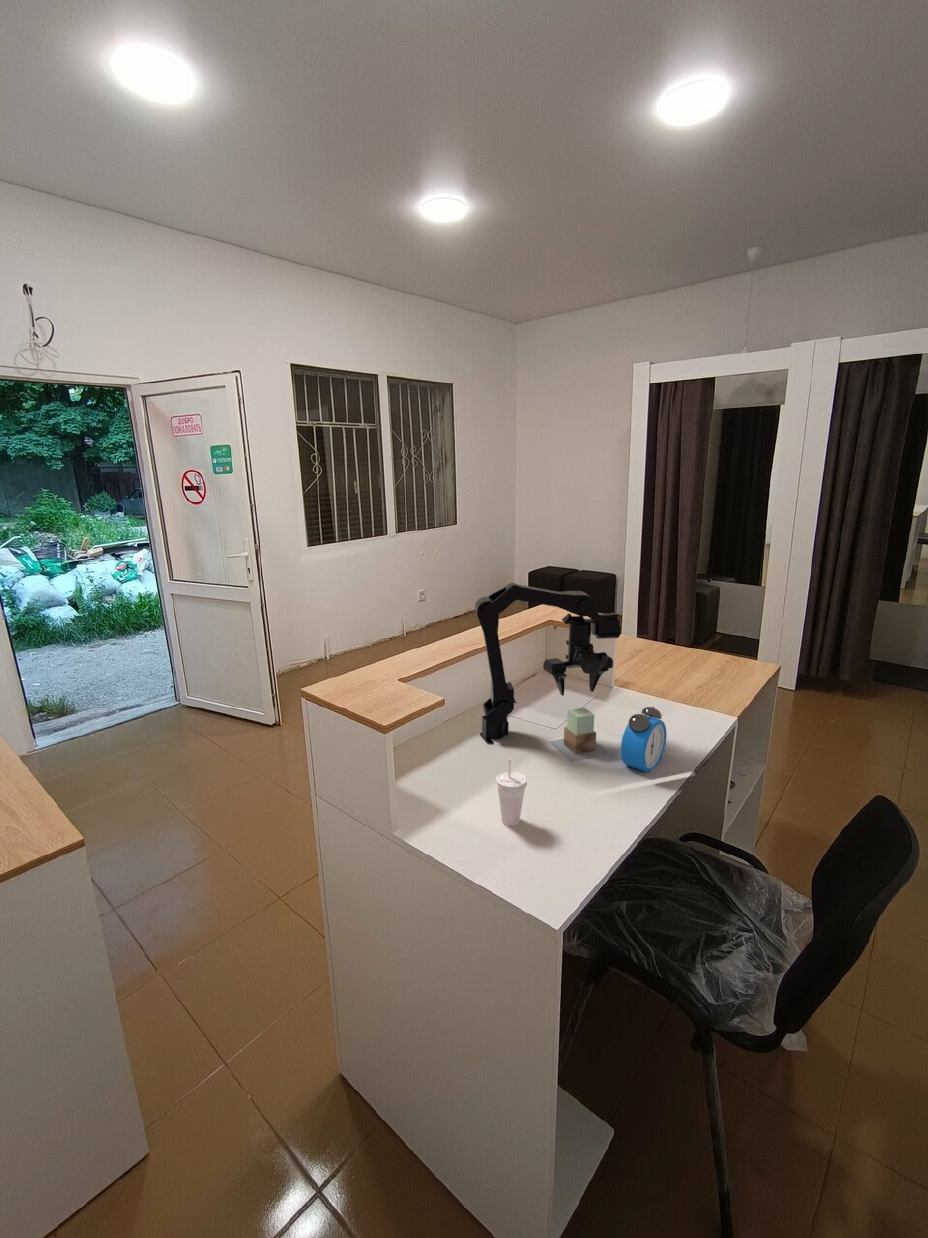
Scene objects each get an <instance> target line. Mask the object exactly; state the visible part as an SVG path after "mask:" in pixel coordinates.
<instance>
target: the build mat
mask: <svg viewBox="0 0 928 1238" xmlns="http://www.w3.org/2000/svg"><path fill="white" fill-rule="evenodd" d="M548 743H550V745H552V746H553V748H555V749H556V750H557V751H558V752H559V753H560V754H561V755H563V756H564V757H565V758H566V759H567V760H568V761H570V762H576V761H581V760H582V761H583V760H586V759H587V760H589V759H593V758H598V757H604V756H610V755H612V752H610V751H609V750H608V749H606V748H605V747H604V746H602V745H601V744H599V743H598V742H597V741H596V749H595V751H591V752H585V753H580V754H574V753H573V752H572V751H571V750H569V749H568V748H567V747H566V746H565V745H564V738H560V739H555V740H549V741H548Z"/></svg>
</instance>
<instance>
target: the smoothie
mask: <svg viewBox="0 0 928 1238" xmlns="http://www.w3.org/2000/svg"><path fill="white" fill-rule="evenodd" d="M507 763H508V764H507V771H505V772H501V773H499V774H498V775H496V777H495V784H496V786H497V794H498V801H499V808H500V816H501V823H502V824H503V825H504V826H508V827H515V826H517V825H518V824H519V823H520V820H521V816H522V815H521V813H522V808H523V803H524V795H525V789H526V788H527V785H528V782H527V779H528V778H526V776H525V775H524V774H522V773H520V772H517V771H511V770H512V769H511V766H512V758H511V757H508V758H507Z"/></svg>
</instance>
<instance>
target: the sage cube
mask: <svg viewBox="0 0 928 1238" xmlns="http://www.w3.org/2000/svg"><path fill="white" fill-rule="evenodd" d="M566 715H567V716H566V717H567V718H566V727H567V728H568V729H569V730H570V731H572V732H573V733H574V734H575V735H582V734H588V733H593V732H595V728H594V727H595V713H593V712H592V711H590V710H588V709H587V708H586V707H578V708H572V709H567V714H566Z"/></svg>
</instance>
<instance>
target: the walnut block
mask: <svg viewBox="0 0 928 1238" xmlns="http://www.w3.org/2000/svg"><path fill="white" fill-rule="evenodd" d="M563 730H564V731H563V739H564V745H565V746H566V747H567V748H568V749H569V750H571V751H572V752H573V753H574V754H580V753H585V752H591V751H595V749H596V742H597V732H596V731H594V732H593V733H588V734H582V735H575V734H574V733H573V732H572V731H570V730H569V729H568V728H567V726H564V728H563Z"/></svg>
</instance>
